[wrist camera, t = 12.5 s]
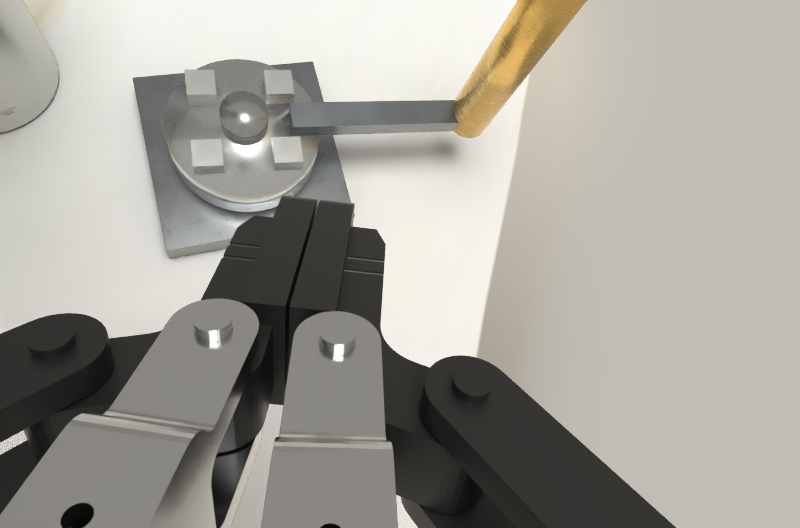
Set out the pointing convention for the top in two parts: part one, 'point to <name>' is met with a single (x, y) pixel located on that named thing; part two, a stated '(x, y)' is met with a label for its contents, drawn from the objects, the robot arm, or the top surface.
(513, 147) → the top surface
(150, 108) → the threaded base
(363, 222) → the top surface
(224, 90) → the crank handle
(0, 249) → the top surface
